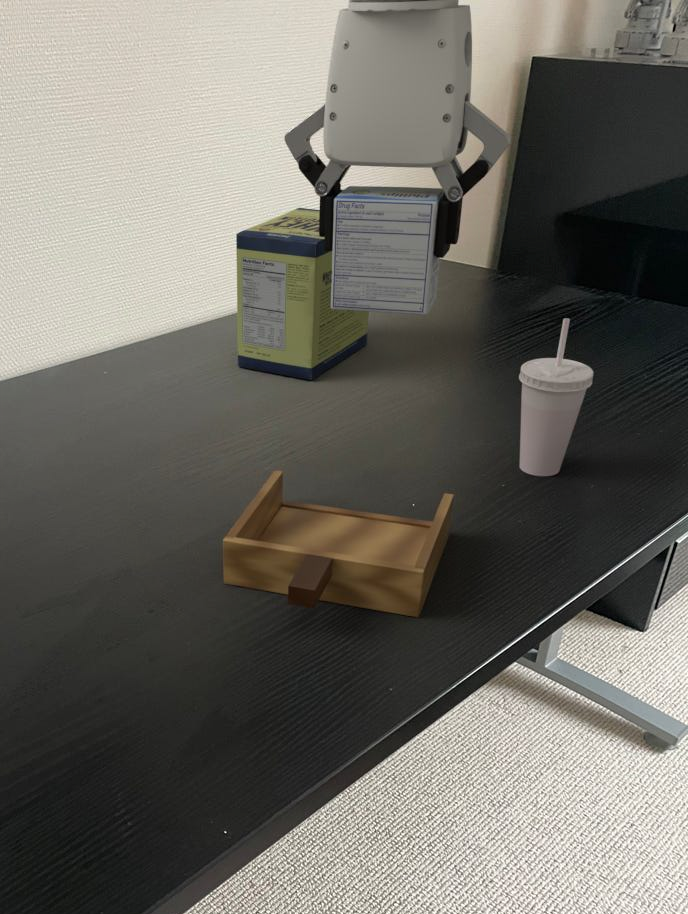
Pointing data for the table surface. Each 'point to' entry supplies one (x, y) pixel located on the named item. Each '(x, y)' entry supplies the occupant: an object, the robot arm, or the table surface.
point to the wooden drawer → (335, 553)
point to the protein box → (291, 300)
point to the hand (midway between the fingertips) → (386, 249)
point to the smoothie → (550, 408)
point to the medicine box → (385, 249)
